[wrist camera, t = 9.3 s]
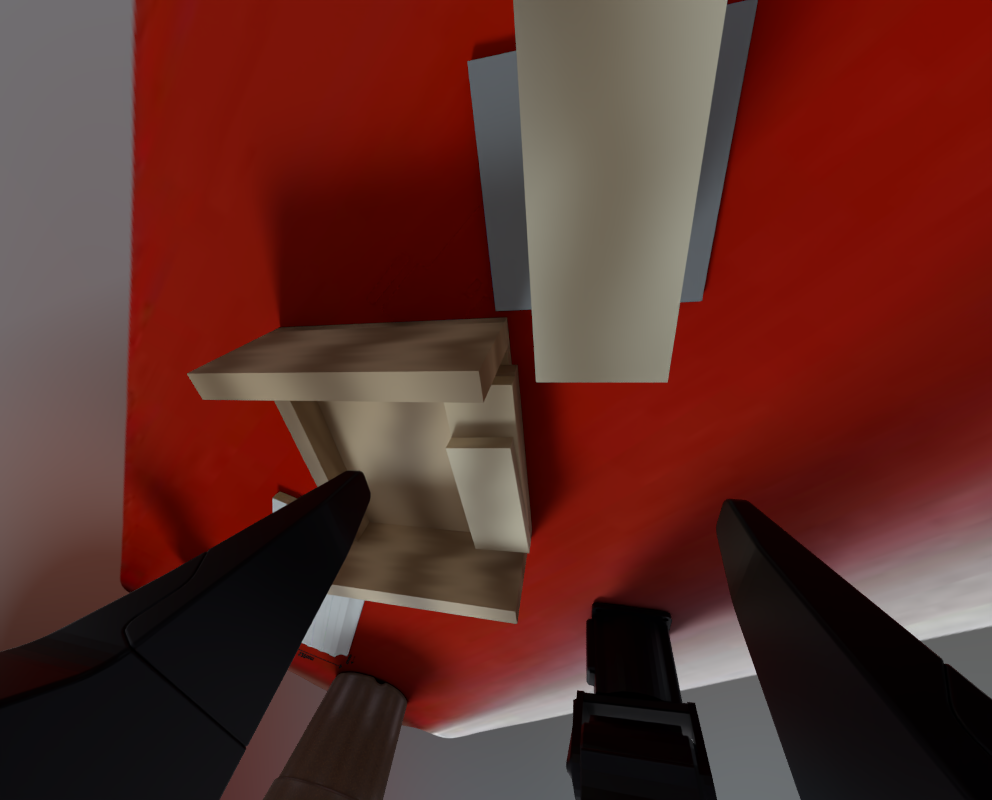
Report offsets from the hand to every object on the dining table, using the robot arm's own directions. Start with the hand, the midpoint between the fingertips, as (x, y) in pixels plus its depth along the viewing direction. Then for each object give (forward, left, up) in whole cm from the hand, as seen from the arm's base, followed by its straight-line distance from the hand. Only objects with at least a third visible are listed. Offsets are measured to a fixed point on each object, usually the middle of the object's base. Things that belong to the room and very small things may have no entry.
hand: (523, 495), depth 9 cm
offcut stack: (+4, +9, -12) cm, 15 cm away
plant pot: (+30, +59, -13) cm, 67 cm away
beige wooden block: (-2, -6, -12) cm, 14 cm away
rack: (+10, +9, -12) cm, 18 cm away
